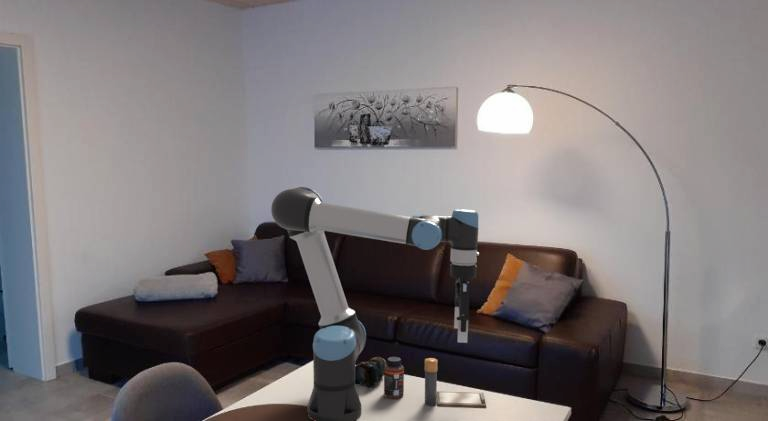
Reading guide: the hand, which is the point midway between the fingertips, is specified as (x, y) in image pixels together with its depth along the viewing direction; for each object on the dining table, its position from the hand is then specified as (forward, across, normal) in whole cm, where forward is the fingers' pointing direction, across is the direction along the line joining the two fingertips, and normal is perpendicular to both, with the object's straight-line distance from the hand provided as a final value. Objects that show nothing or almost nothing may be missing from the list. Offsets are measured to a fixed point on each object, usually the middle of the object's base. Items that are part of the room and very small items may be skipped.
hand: (460, 335), depth 168 cm
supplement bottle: (+21, +3, +19) cm, 28 cm away
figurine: (+21, +15, +26) cm, 36 cm away
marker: (+20, -2, +8) cm, 22 cm away
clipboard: (+20, +1, -1) cm, 20 cm away
